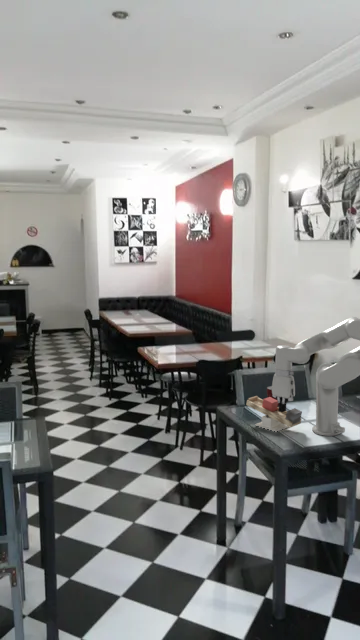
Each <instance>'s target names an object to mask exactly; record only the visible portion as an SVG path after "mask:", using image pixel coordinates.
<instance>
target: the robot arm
mask: <svg viewBox="0 0 360 640" xmlns="http://www.w3.org/2000/svg"><path fill="white" fill-rule="evenodd" d="M352 339H354V340H356V341H360V318H359V317H356V316H355V317H354V316H352V317H348V318H346V319H345V320H343V321H340V322H339V323H337V324H336V325H334V326H332V327H330V328H328V329H325V330H324V331H321V332H319V333H317V334H315V335H313V336H311V337H307V339H305V340H303V341H302V340H301V342H299V343H297V344H296V345H294V347H292V346H290V345H285V344H284V345H283V344H281V345H277V346H276V347H275V361H274V362H275V363H274V365H275V367H274V374H273V377H272V384H271V386H272V394H273V395H272V396H273V397H275V398H276V399H277V400H278V403H279V406H278V407H279V412H284V411H287V404H288V402H293V401H294V398H295V395H296V385H295V383H296V382H295V377H294V373H295V371H293V363H294V364H299V365H301V364H307V362H309V360H310V359H311V356H312V355H313V354H316V353H317V352H320V351H323V350H326V349H327V350H328V349H329V350H330V349H334V348H337V347H338V346H341V345H342V344H344V343H346V342H348V341H351V340H352ZM315 375H316V376H315V377H316V378H315V380H316V395H315V396H316V398H315V399H316V400H315V401H316V402H315V425H314V426H312V429H311V430H312V432H313V433H314V434H316V435H320V436H325V437H327V436H328V437H331V436H332V437H333V436H338V435H340V434H341V433H343V434H345V432H346V427H345V426H341V424H340V423H341V422H339V421H338V420H339V413H338V412H339V388H340V387H342V386H343V385H345V384H346V383H350V382H351V381H353V380H355V379H357V377H359V376H360V345H358V346H357V347H356V348H353V349H351V350H350V351H347V352H345V353H344V354H342V355H340V357H339V359H338V362H336V363H334V364H333V363H330V362H324V363H321V364H320V365H319V366H318V368H317V369H316V372H315Z"/></svg>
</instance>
